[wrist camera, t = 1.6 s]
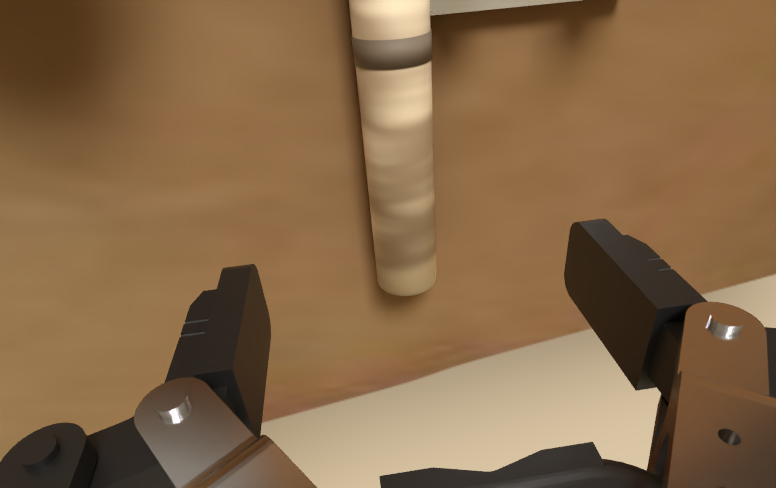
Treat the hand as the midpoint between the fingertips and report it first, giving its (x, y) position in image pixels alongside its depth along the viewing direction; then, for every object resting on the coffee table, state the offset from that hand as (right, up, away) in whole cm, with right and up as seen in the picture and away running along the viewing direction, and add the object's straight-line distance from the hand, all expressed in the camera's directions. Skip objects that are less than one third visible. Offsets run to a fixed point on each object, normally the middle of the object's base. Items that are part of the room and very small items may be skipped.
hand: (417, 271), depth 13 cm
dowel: (0, +7, +12) cm, 14 cm away
